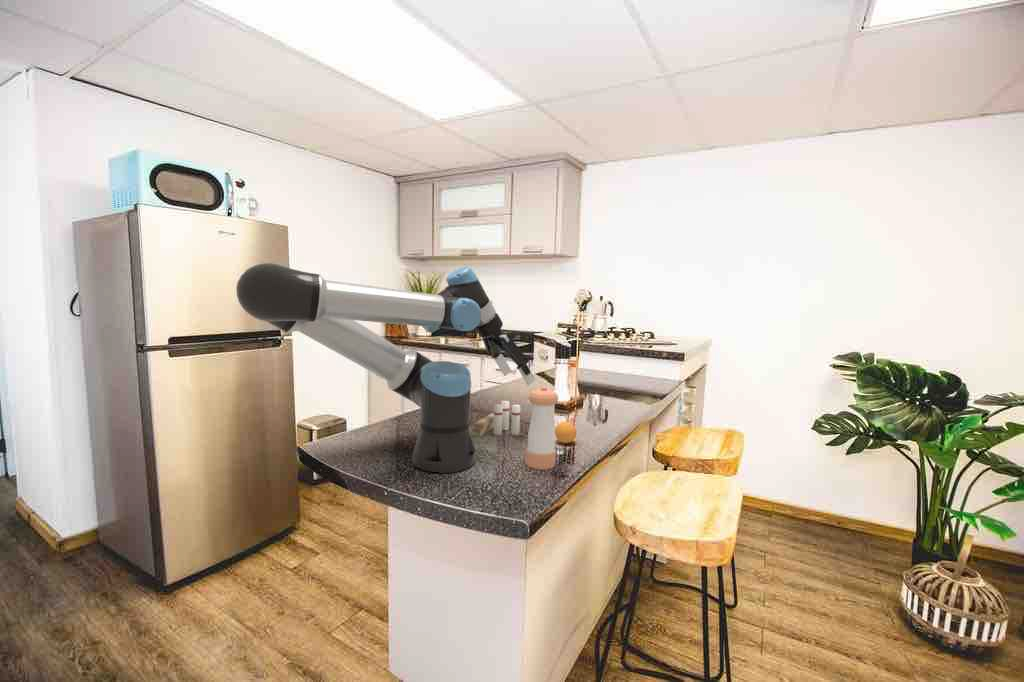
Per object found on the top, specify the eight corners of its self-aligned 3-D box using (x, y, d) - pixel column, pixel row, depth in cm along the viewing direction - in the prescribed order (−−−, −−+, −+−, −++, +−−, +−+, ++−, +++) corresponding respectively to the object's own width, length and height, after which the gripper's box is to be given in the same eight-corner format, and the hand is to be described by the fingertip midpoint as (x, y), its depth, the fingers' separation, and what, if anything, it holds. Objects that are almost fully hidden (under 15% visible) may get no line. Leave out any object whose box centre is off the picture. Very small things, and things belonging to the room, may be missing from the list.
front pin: (513, 436, 128) (515, 407, 127) (509, 433, 130) (510, 405, 129) (521, 434, 129) (522, 406, 128) (516, 432, 131) (517, 404, 130)
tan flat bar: (479, 436, 126) (479, 424, 126) (473, 435, 127) (473, 423, 126) (499, 423, 139) (500, 412, 138) (494, 422, 140) (494, 411, 139)
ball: (563, 447, 120) (564, 426, 119) (549, 440, 125) (550, 420, 124) (580, 444, 123) (581, 423, 122) (566, 437, 128) (567, 417, 127)
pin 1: (495, 435, 127) (496, 407, 126) (491, 433, 129) (492, 404, 128) (503, 434, 128) (504, 406, 127) (498, 432, 131) (499, 403, 130)
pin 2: (503, 431, 132) (504, 403, 131) (498, 428, 134) (499, 401, 133) (510, 429, 133) (511, 402, 132) (505, 427, 135) (506, 400, 134)
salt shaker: (519, 464, 107) (522, 386, 105) (536, 455, 113) (539, 382, 111) (544, 472, 103) (548, 391, 101) (561, 463, 109) (565, 386, 107)
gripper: (518, 315, 114) (552, 378, 123) (475, 308, 136) (507, 362, 144) (496, 331, 112) (532, 395, 120) (456, 322, 133) (490, 376, 141)
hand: (519, 377), depth 132 cm, fingers open, 13 cm apart
